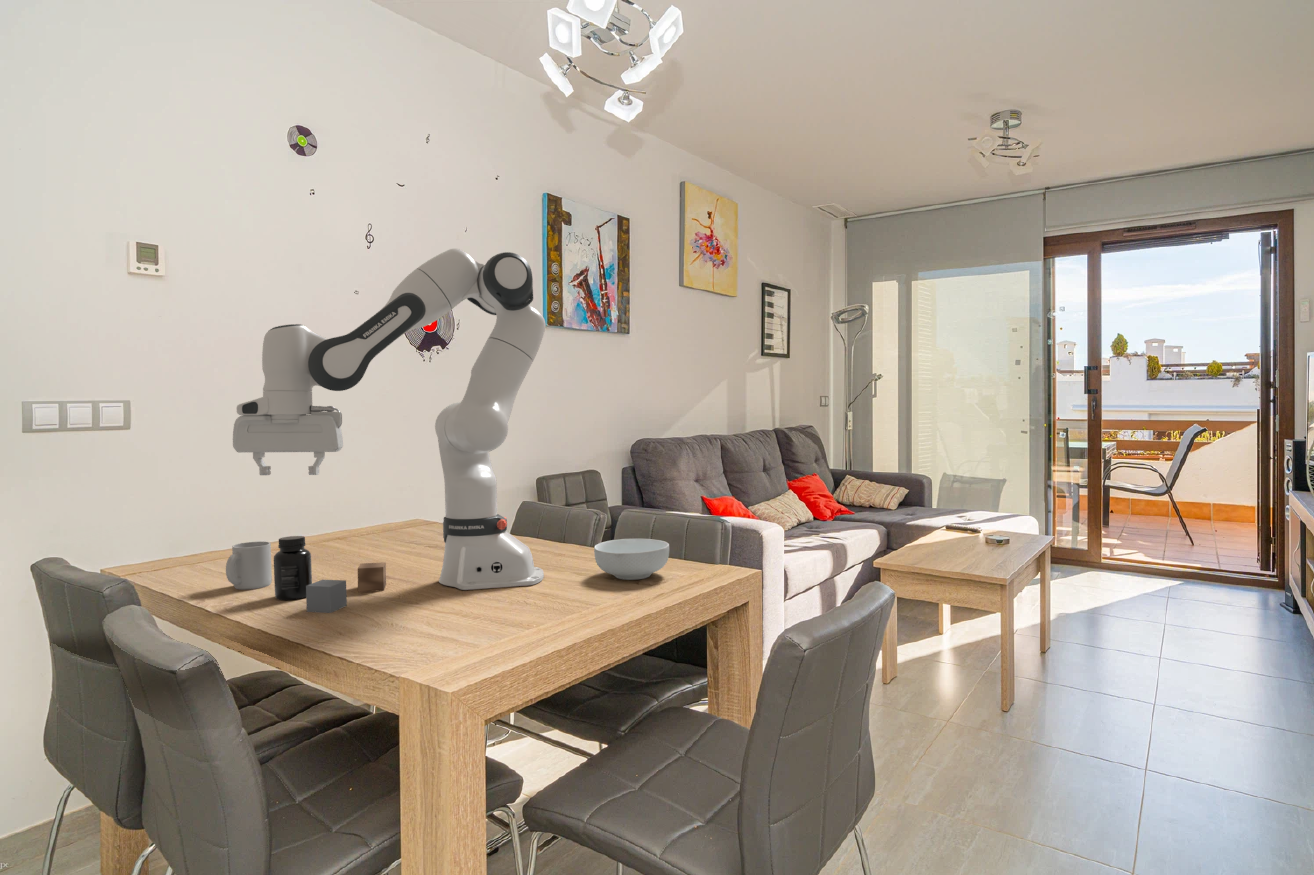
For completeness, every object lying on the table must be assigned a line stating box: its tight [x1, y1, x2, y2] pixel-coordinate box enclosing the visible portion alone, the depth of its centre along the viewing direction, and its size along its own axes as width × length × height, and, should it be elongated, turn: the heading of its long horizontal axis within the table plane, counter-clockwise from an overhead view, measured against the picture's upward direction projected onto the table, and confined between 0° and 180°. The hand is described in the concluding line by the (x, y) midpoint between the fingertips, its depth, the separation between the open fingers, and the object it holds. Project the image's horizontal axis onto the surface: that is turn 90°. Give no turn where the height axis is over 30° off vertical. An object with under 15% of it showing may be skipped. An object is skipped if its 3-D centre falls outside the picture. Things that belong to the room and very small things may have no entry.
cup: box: [225, 541, 273, 591], centre depth 157 cm, size 7×10×9 cm
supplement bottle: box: [273, 535, 313, 601], centre depth 149 cm, size 7×7×12 cm
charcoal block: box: [305, 579, 348, 614], centre depth 140 cm, size 5×5×5 cm
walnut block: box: [357, 561, 387, 593], centre depth 155 cm, size 5×5×5 cm
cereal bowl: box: [593, 538, 670, 581], centre depth 165 cm, size 17×17×7 cm
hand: (289, 475), depth 148 cm, fingers open, 8 cm apart
